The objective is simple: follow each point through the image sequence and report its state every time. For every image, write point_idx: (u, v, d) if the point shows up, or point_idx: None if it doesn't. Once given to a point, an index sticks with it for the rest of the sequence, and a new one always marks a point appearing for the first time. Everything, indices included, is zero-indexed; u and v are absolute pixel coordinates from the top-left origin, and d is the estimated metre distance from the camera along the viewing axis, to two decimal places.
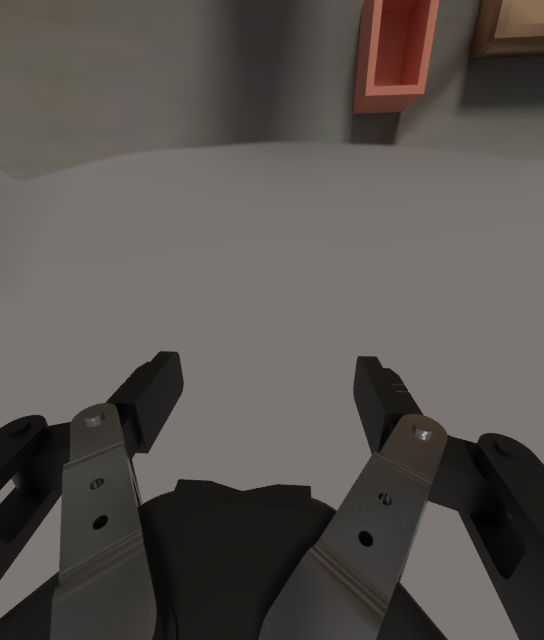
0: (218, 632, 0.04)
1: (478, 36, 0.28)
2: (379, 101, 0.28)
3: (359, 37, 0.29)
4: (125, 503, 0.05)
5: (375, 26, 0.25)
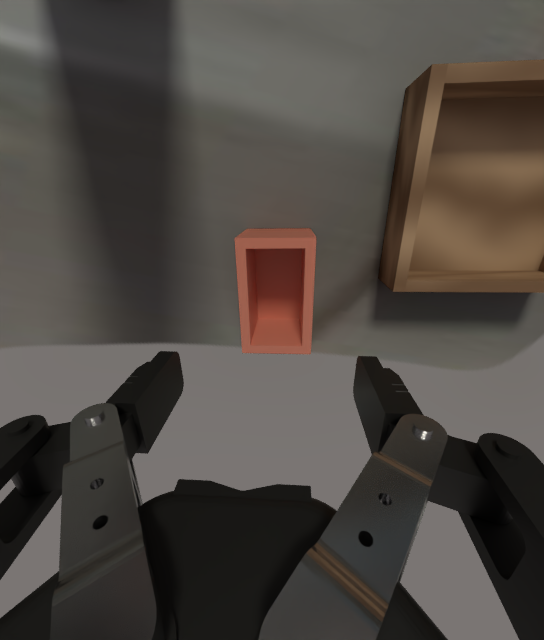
0: (218, 633, 0.04)
1: (383, 266, 0.24)
2: None
3: None
4: (125, 503, 0.05)
5: (242, 294, 0.20)
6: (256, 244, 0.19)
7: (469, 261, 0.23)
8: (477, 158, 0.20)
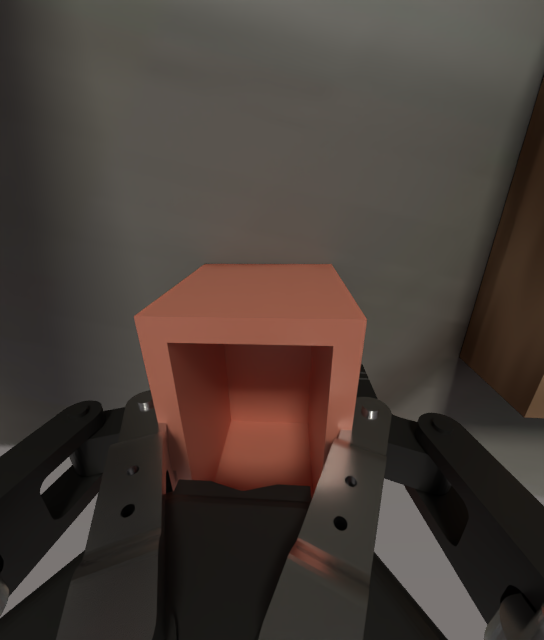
0: (218, 632, 0.04)
1: (481, 342, 0.12)
2: None
3: None
4: (152, 497, 0.05)
5: (171, 440, 0.08)
6: (195, 333, 0.07)
7: None
8: None
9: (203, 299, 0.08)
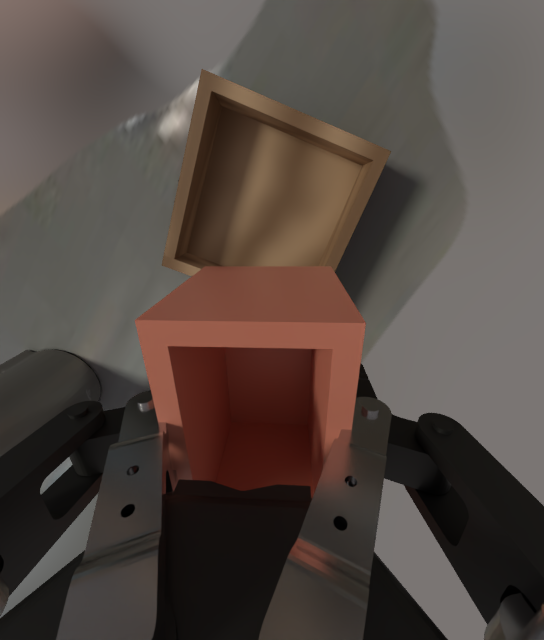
0: (218, 633, 0.04)
1: None
2: None
3: None
4: (152, 497, 0.05)
5: (172, 442, 0.08)
6: (196, 336, 0.07)
7: (324, 231, 0.25)
8: (238, 216, 0.25)
9: (203, 302, 0.08)
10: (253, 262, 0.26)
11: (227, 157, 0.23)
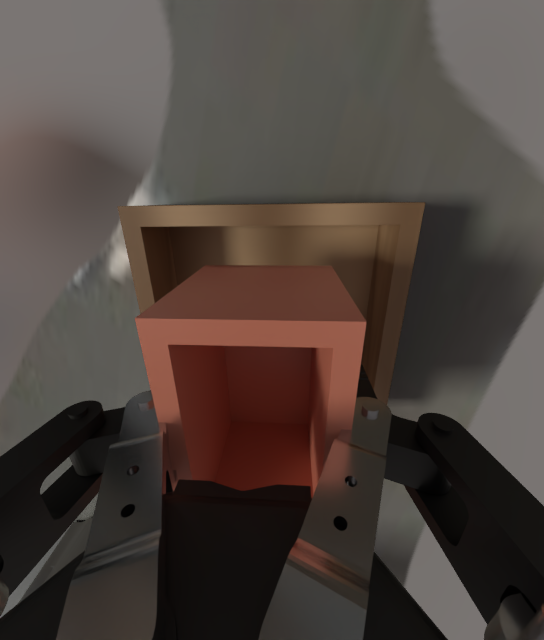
0: (217, 633, 0.04)
1: None
2: None
3: None
4: (152, 497, 0.05)
5: (172, 441, 0.08)
6: (196, 335, 0.07)
7: None
8: None
9: (203, 301, 0.08)
10: None
11: None
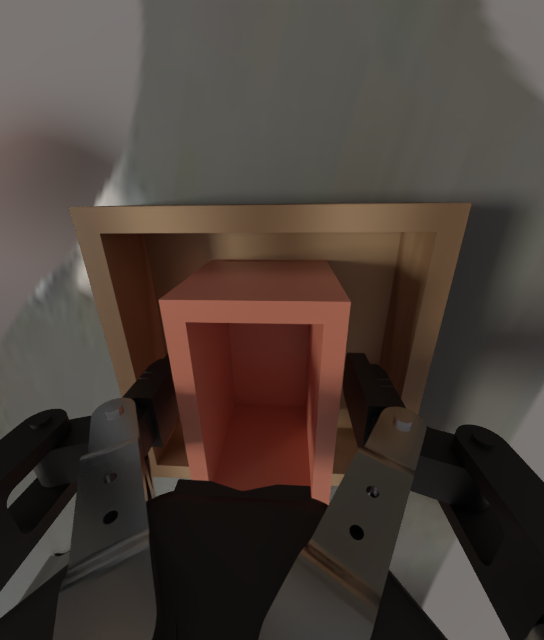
0: (218, 633, 0.04)
1: None
2: None
3: None
4: (135, 500, 0.05)
5: (186, 408, 0.10)
6: (209, 314, 0.08)
7: (368, 338, 0.15)
8: None
9: (214, 287, 0.09)
10: None
11: None
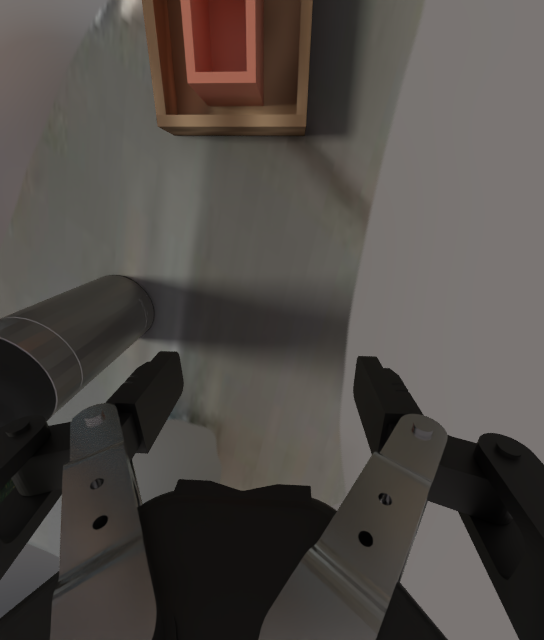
0: (218, 633, 0.04)
1: (291, 133, 0.28)
2: (216, 91, 0.24)
3: None
4: (125, 503, 0.05)
5: None
6: None
7: (291, 41, 0.25)
8: None
9: None
10: (238, 106, 0.27)
11: None
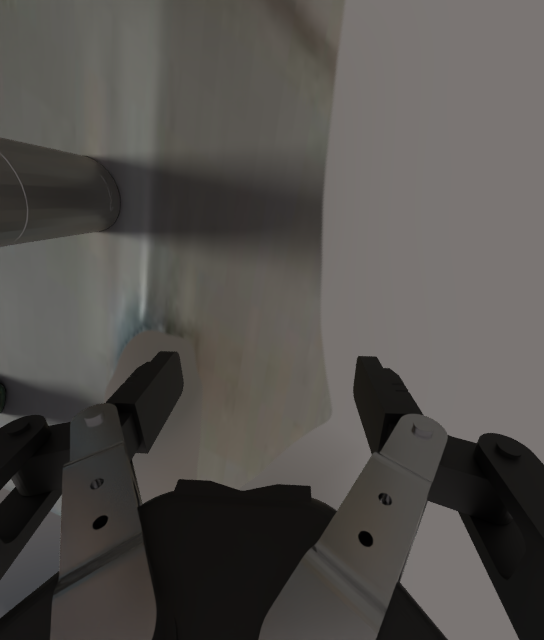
0: (218, 634, 0.04)
1: None
2: None
3: None
4: (125, 503, 0.05)
5: None
6: None
7: None
8: None
9: None
10: None
11: None
